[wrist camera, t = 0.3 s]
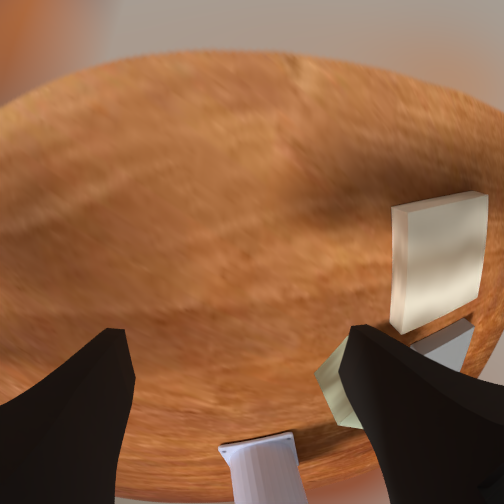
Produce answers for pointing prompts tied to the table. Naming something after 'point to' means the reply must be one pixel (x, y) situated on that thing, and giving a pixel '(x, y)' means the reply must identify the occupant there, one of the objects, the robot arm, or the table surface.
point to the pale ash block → (436, 257)
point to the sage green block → (336, 389)
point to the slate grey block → (447, 344)
